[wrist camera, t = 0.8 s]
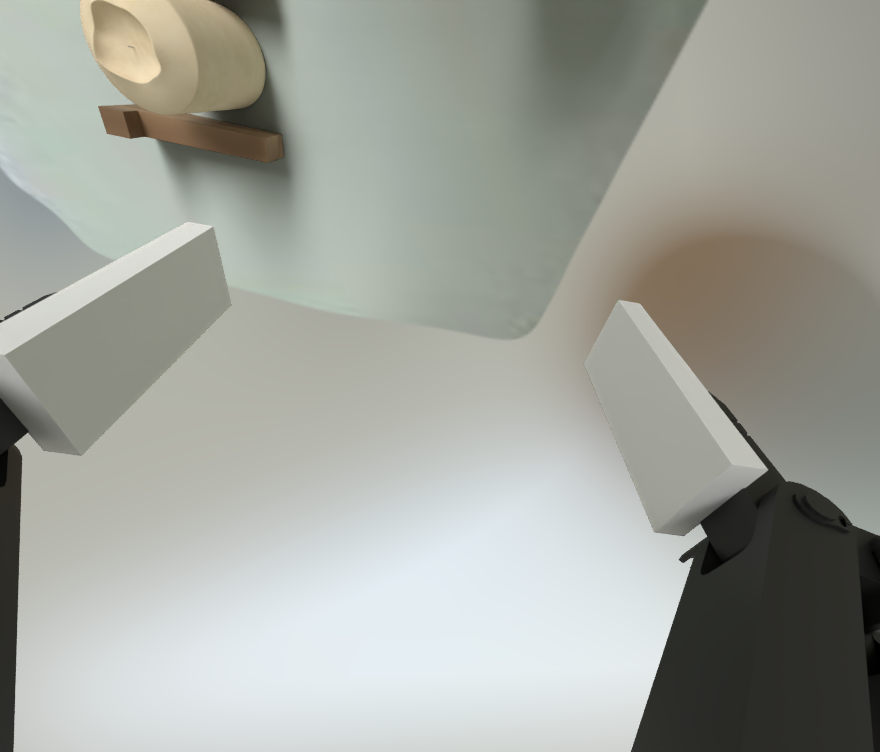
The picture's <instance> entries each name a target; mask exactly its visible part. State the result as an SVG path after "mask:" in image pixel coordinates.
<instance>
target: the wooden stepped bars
mask: <svg viewBox="0 0 880 752" xmlns="http://www.w3.org/2000/svg"><path fill="white" fill-rule="evenodd" d="M98 107H99V110H100V113H101V117H102V120H103V123H104V126H105V129H106V132H107V134H111V135H116V136H121V137H125V138H130V139H132V138H138V137H149V138H154V139H159V140H163V141H168V142H173V143H177V144H182V145H187V146H191V147H196V148H201V149H205V150H210V151H215V152H219V153H224V154H229V155H233V156H238V157H243V158H247V159H252V160H257V161H261V162H266V163H269V162H272V161H274V160H277V159H279V158H282V157H284V156H283V142H282V134H277V133H273V132H268V131H264V130H259V129H255V128H250V127H246V126H241V125H237V124H232V123H228V122H223V121H219V120H214V119H210V118H205V117H201V116H196V115H192V114H175V115H161V114H156V113H153V112H150V111H148V110H145V109H143V108H141V107H140V106H138V105H136V104H135V105H114V106H98Z"/></svg>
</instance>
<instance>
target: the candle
mask: <svg viewBox="0 0 880 752" xmlns="http://www.w3.org/2000/svg"><path fill="white" fill-rule="evenodd" d="M80 15H81V23H82V27H83V31H84V35H85V38H86V41H87V43H88V46H89V48H90V50H91V52H92V54H93V56H94V58H95V60H96V62H97V63H98V65H99V67H100V68H101V70H102V71H103V72H104V74H105V75H106V77H107V78H108V79H109V80H110V81H111V83H112V84H113V85H114V86H115V87H116V88H117V89H118V90H119V91H120V92H121V93H122V94H123V95H124V96H125V97H127V98H128V99H129V100H131V101H132V102H133V103H135V104H136V105H138V106H140V107H141V108H143V109H145V110H148V111H150V112H153V113H156V114H161V115H175V114H187V113H198V112H209V111H221V110H232V109H240V108H245V107H248V106H250V105H251V104H253V103H254V102H255V101H256V100H257V99H258V98H259V97H260V95H261V93H262V91H263V88H264V84H265V63H264V58H263V55H262V51H261V49H260V46H259V44H258V42H257V40H256V38H255V36H254V34H253V33H252V31H251V30H250V29H249V27H248V26H247V25H246V23H245V22H244V21H243V20H242V19H241V18H240V17H239V16H238V15H236V14H235V13H234V12H232V11H231V10H230V9H228V8H226V7H224V6H222V5H220V4H217V3H215V2H213V1H210V0H80Z"/></svg>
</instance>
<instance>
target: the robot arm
mask: <svg viewBox="0 0 880 752" xmlns="http://www.w3.org/2000/svg"><path fill="white" fill-rule="evenodd" d="M230 306H231V300H230V296H229V292H228V287H227V283H226V279H225V274H224V270H223V266H222V261H221V257H220V253H219V249H218V244H217V240H216V236H215V231H214V227H213V226H208V225H203V224H197V223H192V222H186V223H184V224H183V225H181V226H179V227H177V228H175V229H173V230H172V231H170V232H168V233H166V234H164V235H162V236H160V237H159V238H157V239H155V240H153V241H151V242H149V243H148V244H146V245H144V246H142V247H140V248H138V249H136V250H135V251H133V252H131V253H129V254H127V255H125V256H123V257H122V258H120V259H118V260H116V261H114V262H112V263H111V264H109V265H107V266H105V267H103V268H101V269H99V270H98V271H96V272H94V273H92V274H90V275H88V276H87V277H85V278H83V279H81V280H79V281H77V282H75V283H74V284H72V285H70V286H68V287H66V288H64V289H63V290H61V291H59V292H56V293H52V294H49V295H46V296H43V297H41V298H40V299H38V300H36V301H34V302H32V303H30V304H28V305H26V306H25V307H23V310H17V311H15V312H13V313H11V314H10V315H8V316H6V317H4V318H5V319H4V320H0V752H13V747H14V746H13V745H14V714H15V679H16V677H15V676H16V644H17V612H18V579H19V578H18V577H19V543H20V511H21V510H20V509H21V477H22V475H21V474H22V456H21V453H20V451H19V449H18V448H17V447H16V446H15V445H14V443H16V442H17V441H18V440H19V439H21V438H22V437H23V436H24V435H25V434H27V433H29V434H30V435H31V437H32V438H33V439H34V440H35V441H36V442H37V443H38V445H39V446H40V447H41V448H42V449H43V450H44V451H49V452H57V453H66V454H72V455H80V456H81V455H83V454H84V453H85V452H86V451H87V450H88V449H89V448H90V447H91V446H92V445H93V444H94V442H96V441H97V440H98V439H99V438H100V437H101V436H102V435H103V434H104V433H105V432H106V431H107V429H108V428H110V427H111V426H112V425H113V424H114V423H115V422H116V421H117V420H118V419H119V417H121V416H122V415H123V414H124V413H125V412H126V410H128V409H129V408H130V406H132V405H133V404H134V402H136V400H137V399H138V398H139V397H140V396H141V395H142V394H143V393H144V392H145V391H146V390H147V389H148V388H149V387H150V386H151V385H152V384H153V383H154V382H155V381H156V380H157V379H158V378H159V377H160V376H161V375H162V374H163V373H164V372H165V371H166V370H167V369H168V368H169V367H170V366H171V365H172V364H173V363H174V362H175V361H176V360H177V359H178V358H179V357H180V356H181V355H182V354H183V353H184V352H185V351H186V350H187V349H188V348H189V347H190V346H191V345H192V344H193V343H194V342H195V341H196V340H197V339H198V338H199V337H200V336H201V335H202V334H203V333H204V332H205V331H206V330H207V329H208V328H209V327H210V326H211V325H212V324H213V323H214V322H215V321H216V320H217V319H218V318H219V317H220V316H221V315H222V314H223V313H224V312H225V311H226V310H227V309H228V308H229V307H230ZM584 366H585V368H586V371H587V373H588V375H589V378H590V380H591V383H592V385H593V387H594V390H595V392H596V394H597V397H598V399H599V402H600V404H601V406H602V409H603V411H604V414H605V416H606V418H607V421H608V423H609V426H610V428H611V430H612V432H613V435H614V437H615V440H616V442H617V445H618V447H619V449H620V452H621V454H622V457H623V459H624V461H625V464H626V466H627V468H628V471H629V473H630V476H631V478H632V480H633V483H634V485H635V487H636V490H637V492H638V495H639V497H640V499H641V501H642V504H643V506H644V509H645V511H646V514H647V516H648V519H649V521H650V523H651V526H652V528H653V530H654V532H656V533H665V534H672V535H679V536H685V535H686V534H687V533H689V532H690V531H691V530H692V529H694V528H695V527H696V526H697V525H699V524H701V525H702V527H703V529H704V531H705V533H706V535H707V537H706V538H705V539H703V540H702V541H701V542H699V543H698V544H696V545H695V546H694V547H692V548H691V549H690V550H688V551H687V552H686V553H684V554H683V555H682V556H681V557H680V559H679V560H680V561H681V562H682V563H684V562H685V561H687V560H688V559H690V558H694V559H693V562H692V565H691V567H690V571H689V574H688V577H687V581H686V584H685V587H684V590H683V593H682V596H681V599H680V602H679V605H678V608H677V611H676V615H675V618H674V621H673V624H672V627H671V630H670V633H669V636H668V639H667V642H666V645H665V648H664V652H663V655H662V658H661V661H660V664H659V667H658V670H657V673H656V677H655V679H654V682H653V685H652V688H651V692H650V695H649V698H648V701H647V704H646V707H645V710H644V714H643V717H642V719H641V722H640V725H639V729H638V732H637V735H636V738H635V741H634V744H633V747H632V750H631V752H880V536H878V535H875V534H873V533H870V532H868V531H865V530H863V529H860V528H857V527H855V526H853V525H852V523H851V522H850V521H849V519H848V518H847V517H846V516H845V515H844V513H843V512H842V511H841V510H840V509H839V508H838V507H837V506H836V505H835V504H833V503H832V502H831V501H830V500H829V499H827V498H826V497H824V496H823V495H821V494H820V493H818V492H817V491H815V490H813V489H811V488H808V487H806V486H804V485H802V484H799V483H795V482H790V481H789V482H786V481H785V480H784V478H783V477H782V476H781V474H780V473H779V472H778V471H777V469H776V468H775V467H774V466H773V465H772V463H771V462H770V461H769V460H768V458H767V457H766V456H765V454H764V453H763V452H762V451H761V449H760V448H759V447H758V446H757V444H756V443H755V442H754V441H753V439H752V438H751V437H750V436H747V432H746V430H745V429H744V428H743V427H742V425H741V424H740V423H737V419H736V418H735V417H734V415H733V414H732V413H731V412H730V410H729V409H728V408H727V407H726V405H725V404H723V403H722V402H721V401H720V400H718V399H717V398H716V397H715V396H713V395H712V394H711V393H710V392H709V391H707V390H706V389H705V387H704V386H703V385H702V383H701V382H700V381H699V380H698V378H697V377H696V376H695V374H694V373H693V372H692V370H691V369H690V368H689V367H688V365H687V364H686V363H685V361H684V360H683V359H682V358H681V356H680V355H679V354H678V352H677V351H676V350H675V349H674V347H673V346H672V345H671V343H670V342H669V341H668V339H667V338H666V337H665V336H664V334H663V333H662V332H661V330H660V329H659V328H658V327H657V325H656V324H655V323H654V321H653V320H652V319H651V318H650V316H649V315H648V314H647V313H646V311H645V310H644V308H643V307H642V306H641V305H640V304H639V303H633V302H628V301H622V300H618V301H617V303H616V305H615V307H614V308H613V310H612V312H611V314H610V316H609V318H608V320H607V321H606V323H605V325H604V327H603V329H602V331H601V332H600V334H599V336H598V338H597V340H596V341H595V343H594V345H593V347H592V349H591V351H590V353H589V354H588V356H587V358H586V360H585V362H584Z"/></svg>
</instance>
